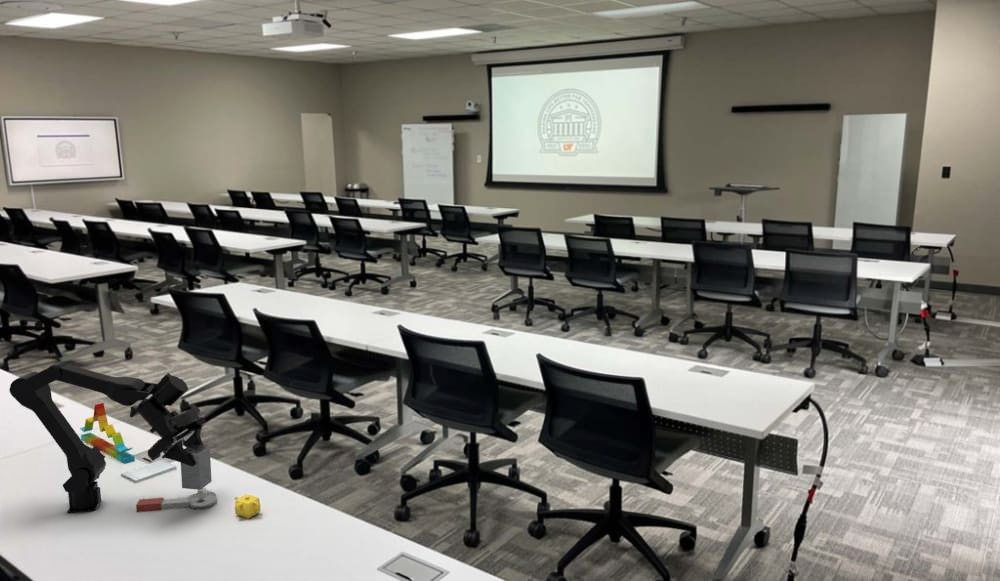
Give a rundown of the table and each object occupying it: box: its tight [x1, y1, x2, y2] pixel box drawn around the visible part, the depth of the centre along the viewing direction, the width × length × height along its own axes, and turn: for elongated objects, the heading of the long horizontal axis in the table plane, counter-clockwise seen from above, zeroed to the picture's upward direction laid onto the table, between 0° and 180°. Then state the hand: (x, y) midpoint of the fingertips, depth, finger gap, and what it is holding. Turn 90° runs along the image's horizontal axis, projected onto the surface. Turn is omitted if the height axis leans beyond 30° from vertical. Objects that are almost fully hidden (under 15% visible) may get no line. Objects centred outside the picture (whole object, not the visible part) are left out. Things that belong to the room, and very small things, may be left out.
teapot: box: [234, 493, 261, 520], centre depth 189 cm, size 8×6×5 cm
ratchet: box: [135, 487, 218, 513], centre depth 193 cm, size 20×7×4 cm, turn 102°
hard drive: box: [120, 459, 177, 484], centre depth 214 cm, size 2×8×12 cm
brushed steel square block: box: [180, 444, 213, 491], centre depth 190 cm, size 5×5×10 cm
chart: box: [79, 402, 136, 465], centre depth 229 cm, size 30×3×15 cm, turn 52°
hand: (200, 461), depth 190 cm, fingers closed on brushed steel square block, 5 cm apart
